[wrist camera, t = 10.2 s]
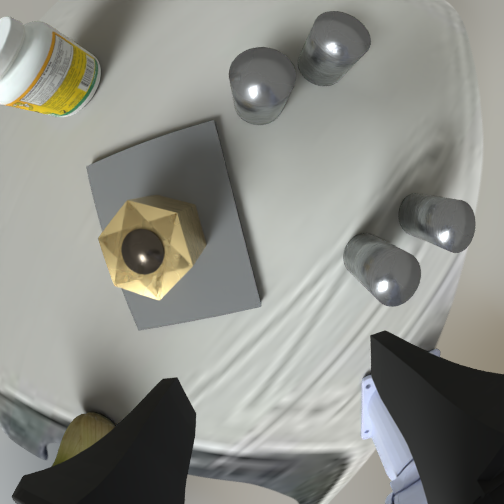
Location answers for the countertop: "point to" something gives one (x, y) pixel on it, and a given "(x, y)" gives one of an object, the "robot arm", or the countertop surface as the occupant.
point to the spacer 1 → (261, 84)
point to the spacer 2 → (333, 47)
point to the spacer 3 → (382, 269)
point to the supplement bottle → (44, 69)
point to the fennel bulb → (82, 435)
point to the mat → (210, 215)
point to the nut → (152, 244)
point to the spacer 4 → (438, 221)
